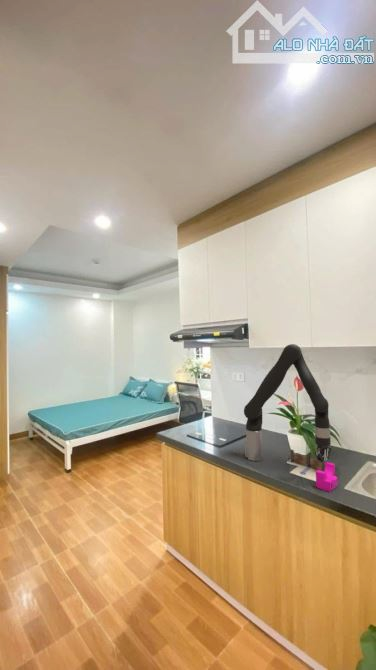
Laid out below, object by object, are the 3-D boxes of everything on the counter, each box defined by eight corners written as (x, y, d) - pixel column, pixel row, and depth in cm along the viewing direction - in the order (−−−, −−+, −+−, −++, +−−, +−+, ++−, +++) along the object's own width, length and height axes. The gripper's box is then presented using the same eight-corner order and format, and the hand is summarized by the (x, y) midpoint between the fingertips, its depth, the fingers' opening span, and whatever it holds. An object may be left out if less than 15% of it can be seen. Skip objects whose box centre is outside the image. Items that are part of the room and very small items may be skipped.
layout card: (277, 469, 151) (277, 468, 151) (290, 459, 162) (290, 459, 162) (320, 483, 135) (320, 482, 135) (331, 471, 146) (331, 470, 146)
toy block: (330, 492, 127) (329, 475, 127) (316, 487, 131) (315, 471, 131) (340, 480, 137) (340, 465, 137) (327, 476, 142) (326, 461, 142)
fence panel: (310, 467, 150) (309, 456, 150) (312, 466, 151) (311, 455, 151) (324, 474, 143) (324, 462, 143) (327, 473, 143) (326, 461, 144)
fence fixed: (290, 461, 159) (289, 450, 159) (291, 460, 160) (291, 449, 160) (309, 467, 151) (309, 455, 151) (311, 466, 152) (310, 454, 152)
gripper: (322, 431, 155) (323, 462, 155) (308, 436, 148) (310, 468, 147) (335, 434, 149) (337, 466, 148) (322, 439, 142) (323, 474, 141)
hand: (323, 467), depth 148 cm, fingers closed
